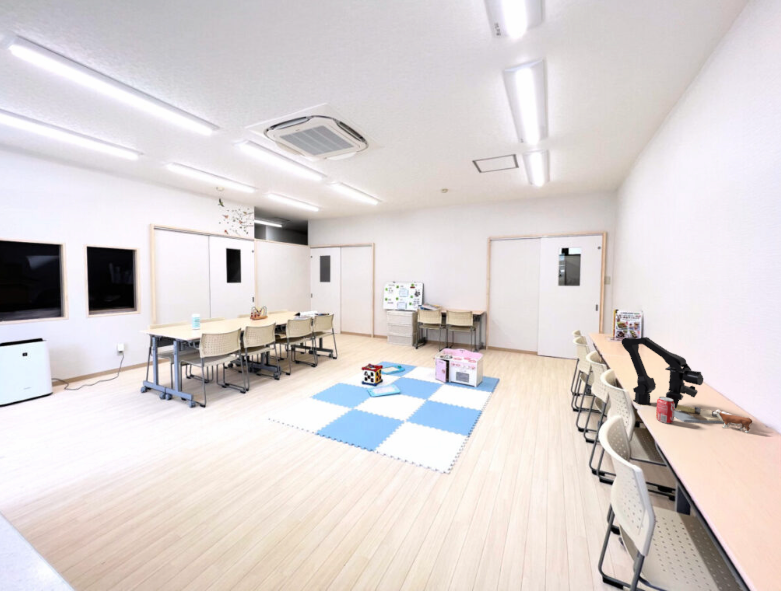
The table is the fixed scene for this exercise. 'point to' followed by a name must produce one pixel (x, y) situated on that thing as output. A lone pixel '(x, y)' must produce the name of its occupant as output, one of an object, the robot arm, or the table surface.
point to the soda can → (665, 410)
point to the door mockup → (698, 416)
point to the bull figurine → (733, 420)
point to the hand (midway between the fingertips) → (675, 408)
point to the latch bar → (689, 409)
